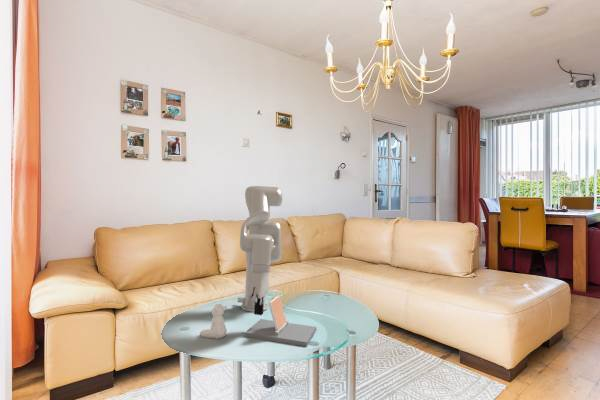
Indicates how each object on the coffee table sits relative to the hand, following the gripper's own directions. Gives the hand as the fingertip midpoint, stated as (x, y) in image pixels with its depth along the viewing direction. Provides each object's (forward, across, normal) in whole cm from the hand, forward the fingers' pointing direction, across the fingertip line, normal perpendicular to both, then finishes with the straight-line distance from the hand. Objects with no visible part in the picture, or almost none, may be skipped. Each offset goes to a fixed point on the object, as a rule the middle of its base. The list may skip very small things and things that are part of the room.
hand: (258, 314), depth 130 cm
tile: (-1, 0, +7) cm, 8 cm away
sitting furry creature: (+7, +11, -12) cm, 18 cm away
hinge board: (+6, 0, +10) cm, 12 cm away
